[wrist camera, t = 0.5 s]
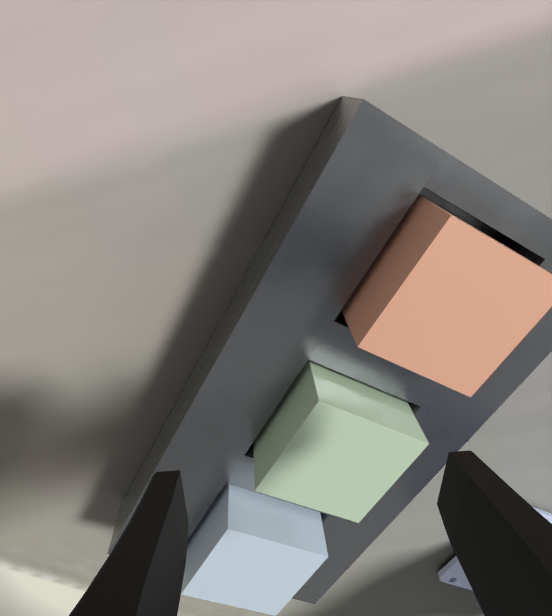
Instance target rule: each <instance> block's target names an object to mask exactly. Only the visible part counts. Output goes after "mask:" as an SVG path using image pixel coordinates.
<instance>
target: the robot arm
mask: <svg viewBox="0 0 552 616" xmlns="http://www.w3.org/2000/svg"><path fill="white" fill-rule="evenodd" d="M437 505H438V508H439V511H440V514H441V517H442V520H443V523H444V526H445V529H446V532H447V535H448V537H449V540H450V543H451V545H452V547H453V550H454V552H455V554H456V556H455V557H454V558H453V559H452V560H451V561H450V562H449V563H447V564H446V565H445V566H444V567H443V568H442V569H441V570H440V571H439V572H438V577H439V580H440V581H441V582H444V583H447V584H451V585H454V586H458V587H462V588H465V589H469V590H472V591H473V592H474V594H475V596H476V598H477V600H478V602H479V605H480V607H481V609H482V611H483V613H484V615H485V616H552V514H551V513H549V512H546V511H543V510H540V509H538V508H535V507H532V506H531V505H530V504H528V503H527V502H526V501H525V500H524V499H523V498H522V497H521V496H519V495H518V494H517V493H516V492H515V491H514V490H513V489H512V488H511V487H510V486H509V485H507V484H506V483H505V482H504V481H503V480H502V479H501V478H500V477H499V476H498V475H497V474H496V473H494V472H493V471H492V470H491V469H490V468H489V467H488V466H487V465H486V464H485V463H484V462H483V461H482V460H480V459H479V458H478V457H477V456H476V455H475V454H474V453H473V452H472V451H458V452H449V453H448V458H447V462H446V467H445V471H444V475H443V480H442V484H441V489H440V493H439V498H438V502H437ZM188 525H189V521H188V515H187V509H186V503H185V497H184V491H183V485H182V478H181V472H180V470H176V471H161V472H156V473H155V474H154V475H153V476H152V478H151V480H150V483H149V485H148V487H147V489H146V491H145V493H144V495H143V497H142V499H141V501H140V503H139V505H138V506H137V508H136V510H135V512H134V514H133V516H132V518H131V519H130V521H129V523H128V525H127V526H126V528H125V530H124V532H123V533H122V535H121V537H120V538H119V540H118V542H117V543H116V545H115V547H114V549H113V550H112V552H111V554H110V555H109V557H108V558H107V560H106V561H105V563H104V565H103V566H102V568H101V569H100V571H99V572H98V574H97V575H96V577H95V578H94V580H93V581H92V583H91V585H90V586H89V588H88V589H87V591H86V592H85V594H84V595H83V597H82V598H81V599H80V601H79V602H78V604H77V605H76V607H75V608H74V609H73V611H72V612H71V613H70V615H69V616H177V612H178V607H179V601H180V595H181V589H182V583H183V577H184V571H185V565H186V554H187V540H188Z"/></svg>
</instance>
